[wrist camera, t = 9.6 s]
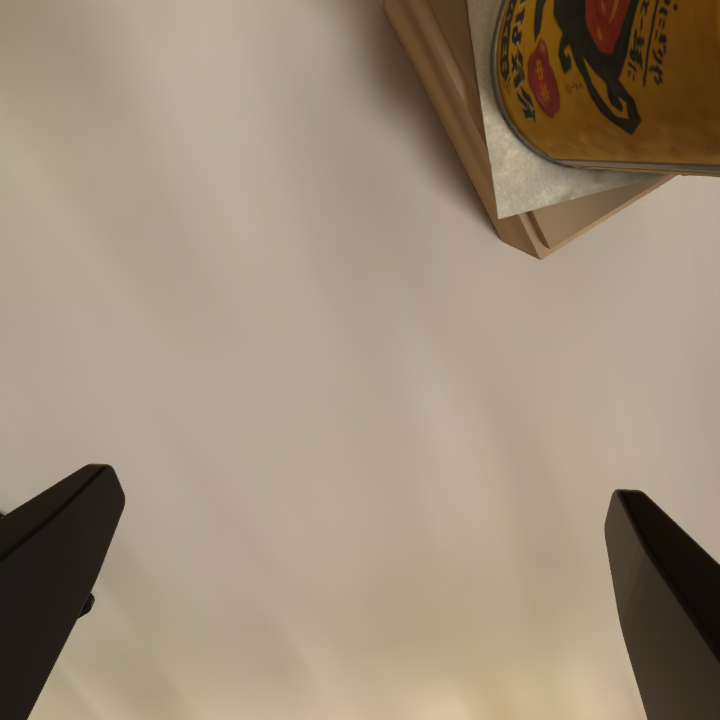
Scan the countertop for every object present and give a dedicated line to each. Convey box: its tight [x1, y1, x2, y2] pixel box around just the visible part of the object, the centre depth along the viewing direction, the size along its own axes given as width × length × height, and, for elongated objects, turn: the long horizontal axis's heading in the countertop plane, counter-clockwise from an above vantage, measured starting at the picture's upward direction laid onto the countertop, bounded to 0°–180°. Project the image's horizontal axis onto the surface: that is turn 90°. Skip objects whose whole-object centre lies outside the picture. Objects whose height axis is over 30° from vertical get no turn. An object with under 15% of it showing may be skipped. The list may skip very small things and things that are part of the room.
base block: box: [382, 0, 678, 260], centre depth 17 cm, size 9×9×4 cm
